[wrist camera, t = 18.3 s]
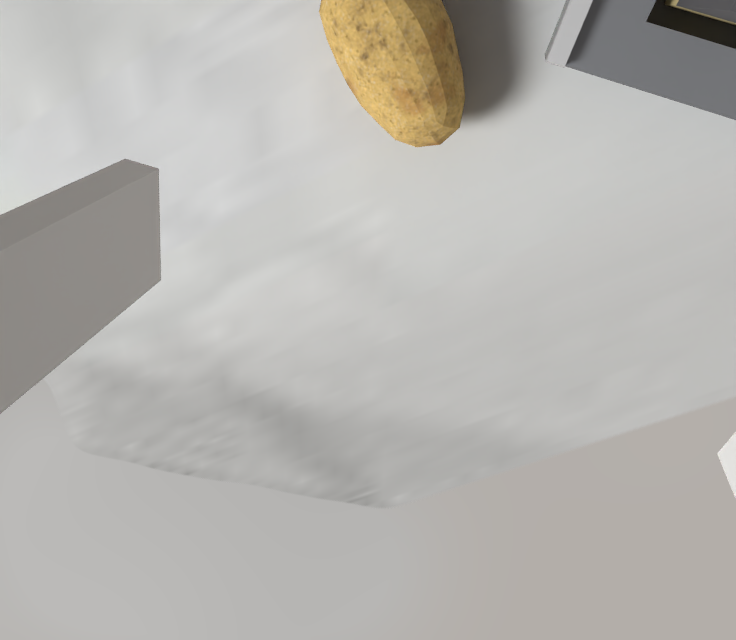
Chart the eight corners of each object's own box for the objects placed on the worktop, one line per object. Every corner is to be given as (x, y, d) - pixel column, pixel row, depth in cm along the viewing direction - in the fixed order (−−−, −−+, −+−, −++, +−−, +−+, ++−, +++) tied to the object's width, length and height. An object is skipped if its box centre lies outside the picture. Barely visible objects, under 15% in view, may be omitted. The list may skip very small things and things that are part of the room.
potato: (417, -78, 31) (394, -93, 25) (493, 109, 34) (486, 129, 29) (321, -11, 33) (282, -11, 28) (401, 154, 37) (380, 180, 32)
